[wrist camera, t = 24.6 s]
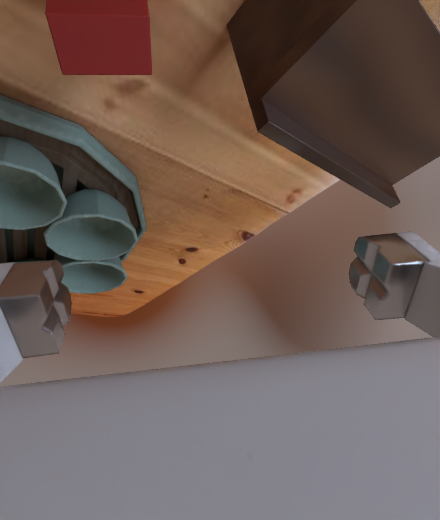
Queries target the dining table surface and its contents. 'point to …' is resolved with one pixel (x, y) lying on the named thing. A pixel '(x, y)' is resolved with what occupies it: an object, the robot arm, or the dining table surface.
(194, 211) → the dining table surface
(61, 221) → the tea set
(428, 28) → the shelf
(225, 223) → the dining table surface
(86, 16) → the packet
